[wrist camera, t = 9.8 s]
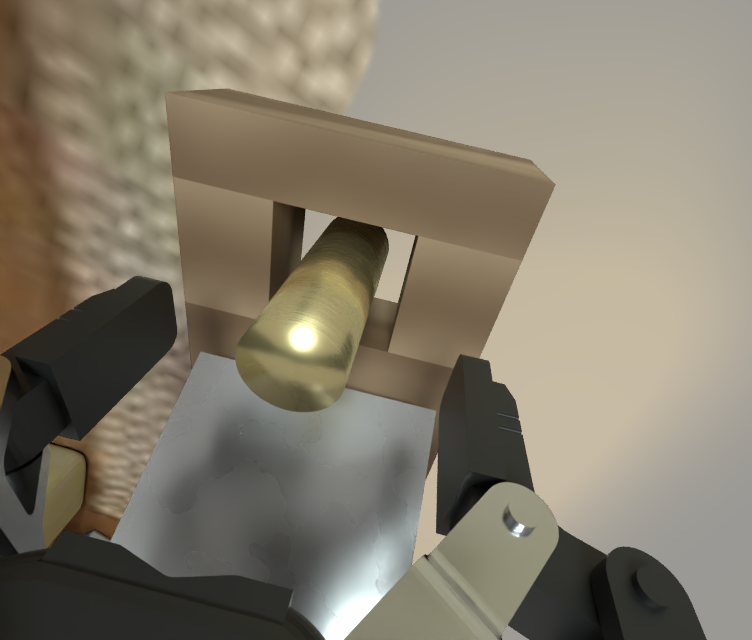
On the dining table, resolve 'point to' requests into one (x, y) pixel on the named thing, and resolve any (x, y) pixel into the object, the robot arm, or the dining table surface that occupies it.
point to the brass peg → (315, 320)
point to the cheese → (62, 490)
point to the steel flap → (284, 494)
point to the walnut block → (355, 202)
